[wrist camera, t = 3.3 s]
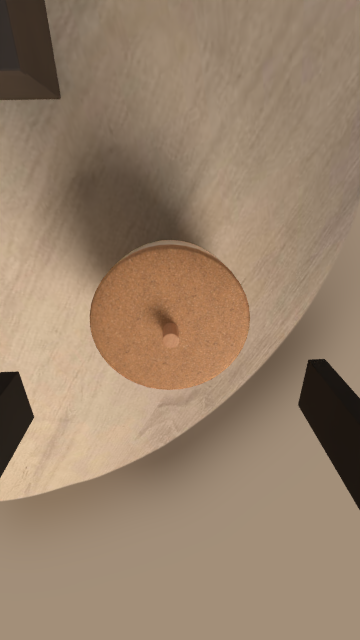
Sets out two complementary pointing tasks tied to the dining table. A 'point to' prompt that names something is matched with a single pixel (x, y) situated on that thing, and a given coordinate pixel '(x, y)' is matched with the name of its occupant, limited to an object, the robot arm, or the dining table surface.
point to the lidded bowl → (169, 316)
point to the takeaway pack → (26, 52)
